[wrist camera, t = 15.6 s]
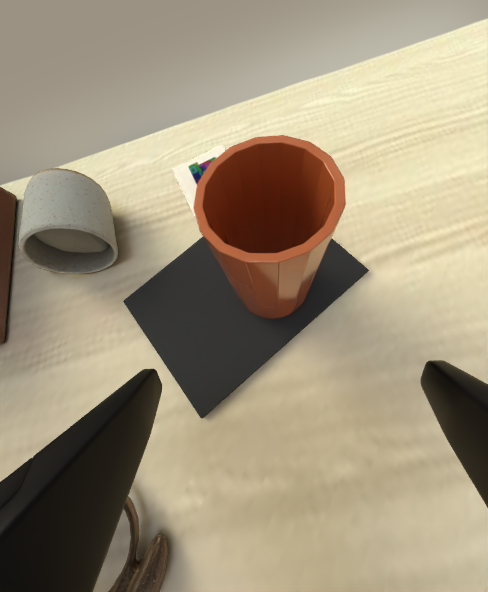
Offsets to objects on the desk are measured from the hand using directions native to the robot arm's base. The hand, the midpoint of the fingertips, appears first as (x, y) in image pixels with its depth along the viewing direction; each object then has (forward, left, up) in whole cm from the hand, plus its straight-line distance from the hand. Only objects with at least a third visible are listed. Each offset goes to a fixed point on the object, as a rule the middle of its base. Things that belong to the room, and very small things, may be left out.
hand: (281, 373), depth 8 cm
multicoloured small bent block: (+21, -8, -13) cm, 26 cm away
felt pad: (+8, -2, -13) cm, 16 cm away
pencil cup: (+6, -5, -13) cm, 15 cm away
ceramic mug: (+24, +8, -13) cm, 29 cm away
